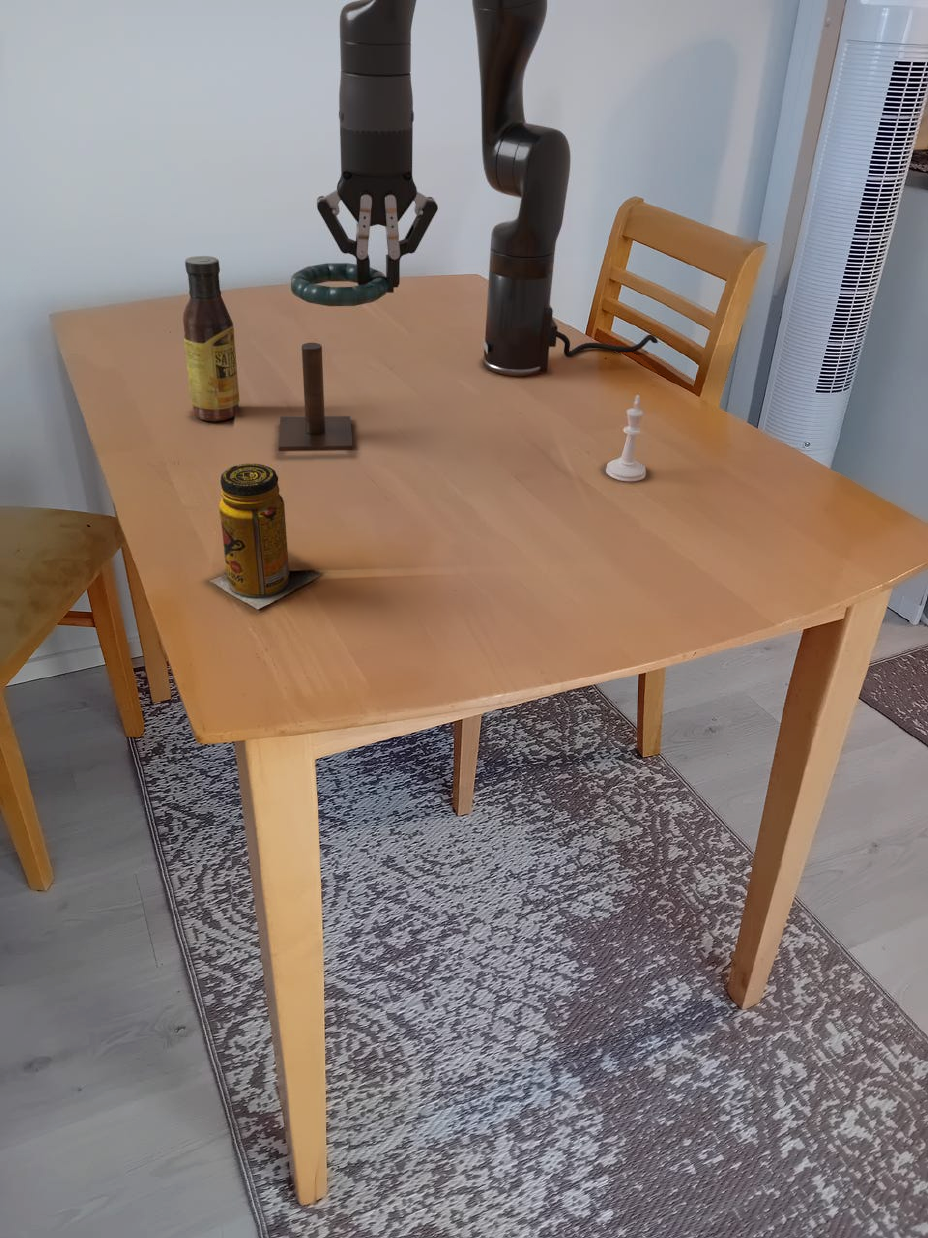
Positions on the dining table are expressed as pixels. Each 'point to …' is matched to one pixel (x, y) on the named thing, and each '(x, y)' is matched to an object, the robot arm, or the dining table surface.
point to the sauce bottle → (209, 344)
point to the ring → (337, 296)
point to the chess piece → (629, 450)
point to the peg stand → (314, 413)
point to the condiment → (256, 537)
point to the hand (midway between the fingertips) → (377, 290)
